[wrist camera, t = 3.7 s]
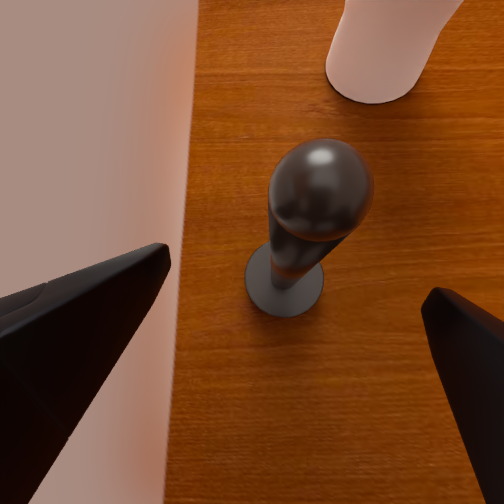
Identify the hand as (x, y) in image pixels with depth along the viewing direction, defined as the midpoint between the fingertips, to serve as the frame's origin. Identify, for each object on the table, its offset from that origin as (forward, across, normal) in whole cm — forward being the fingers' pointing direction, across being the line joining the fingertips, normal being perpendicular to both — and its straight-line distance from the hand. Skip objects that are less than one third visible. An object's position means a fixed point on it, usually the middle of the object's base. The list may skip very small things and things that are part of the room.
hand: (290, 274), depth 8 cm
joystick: (+7, 0, +6) cm, 9 cm away
